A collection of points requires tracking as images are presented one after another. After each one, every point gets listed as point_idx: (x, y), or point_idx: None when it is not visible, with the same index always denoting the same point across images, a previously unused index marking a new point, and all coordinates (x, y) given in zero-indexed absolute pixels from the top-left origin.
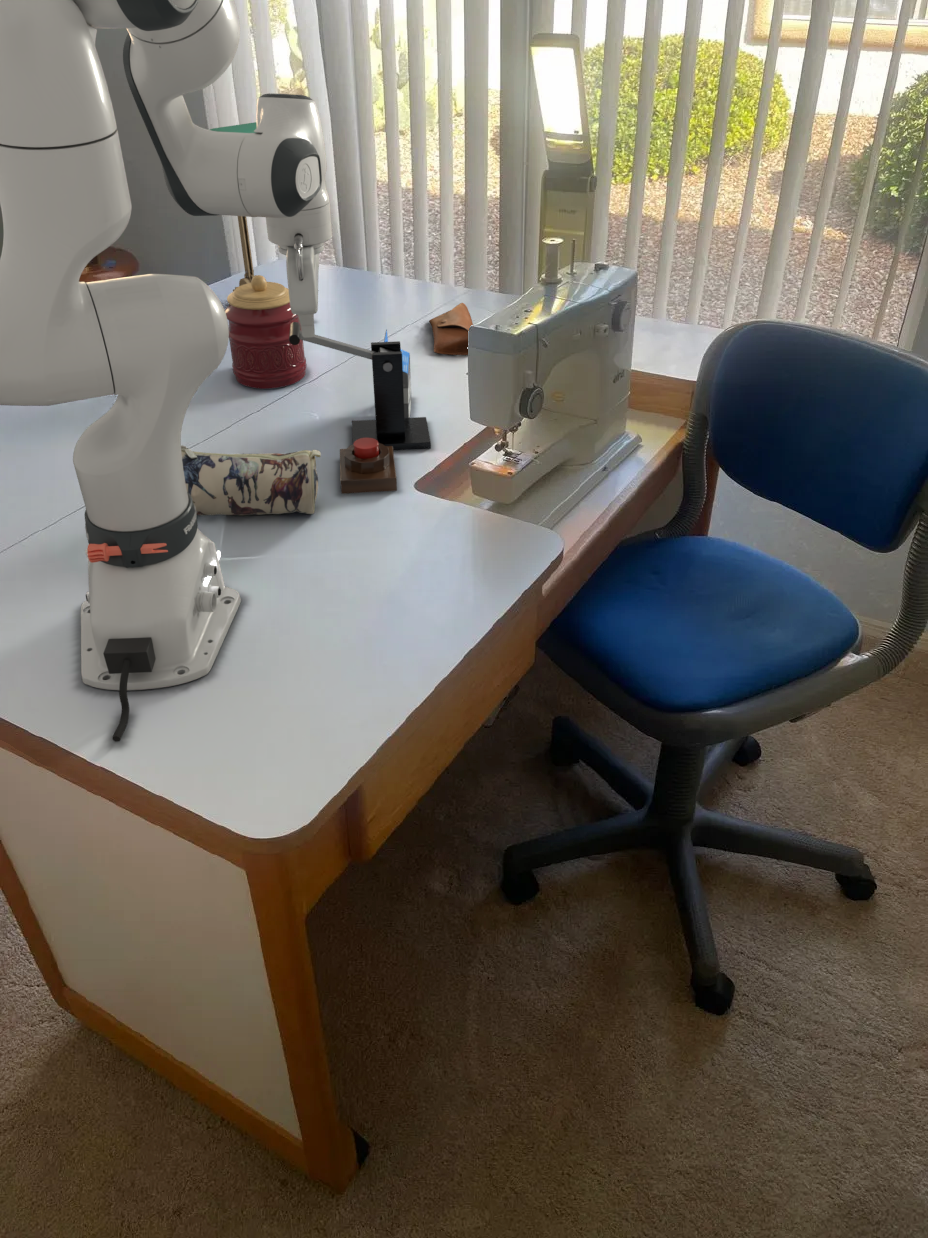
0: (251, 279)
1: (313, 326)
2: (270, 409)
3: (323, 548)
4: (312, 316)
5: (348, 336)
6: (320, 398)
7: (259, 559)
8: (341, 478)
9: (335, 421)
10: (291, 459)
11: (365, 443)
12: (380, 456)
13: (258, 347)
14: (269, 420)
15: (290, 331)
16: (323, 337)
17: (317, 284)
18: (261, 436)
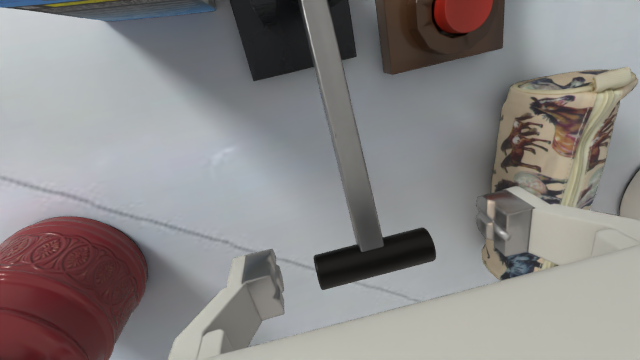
0: None
1: (546, 202)
2: (215, 228)
3: (621, 43)
4: (627, 221)
5: None
6: (148, 165)
7: (620, 120)
8: (495, 47)
9: (235, 116)
10: (607, 120)
11: (471, 5)
12: None
13: (111, 316)
14: (253, 218)
15: (390, 271)
16: (349, 172)
17: (585, 326)
18: (308, 212)
